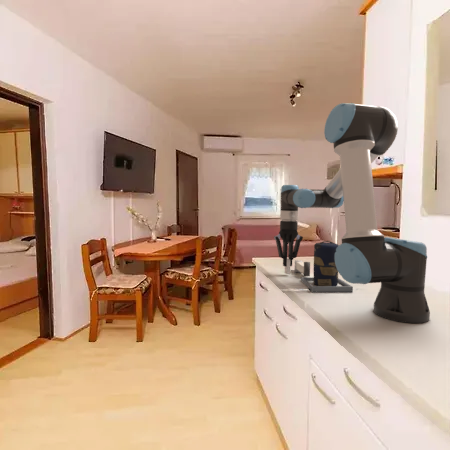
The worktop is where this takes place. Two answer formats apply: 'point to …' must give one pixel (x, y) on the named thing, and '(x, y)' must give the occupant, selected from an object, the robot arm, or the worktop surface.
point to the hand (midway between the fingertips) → (287, 273)
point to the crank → (302, 267)
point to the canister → (325, 264)
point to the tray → (328, 287)
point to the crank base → (295, 272)
